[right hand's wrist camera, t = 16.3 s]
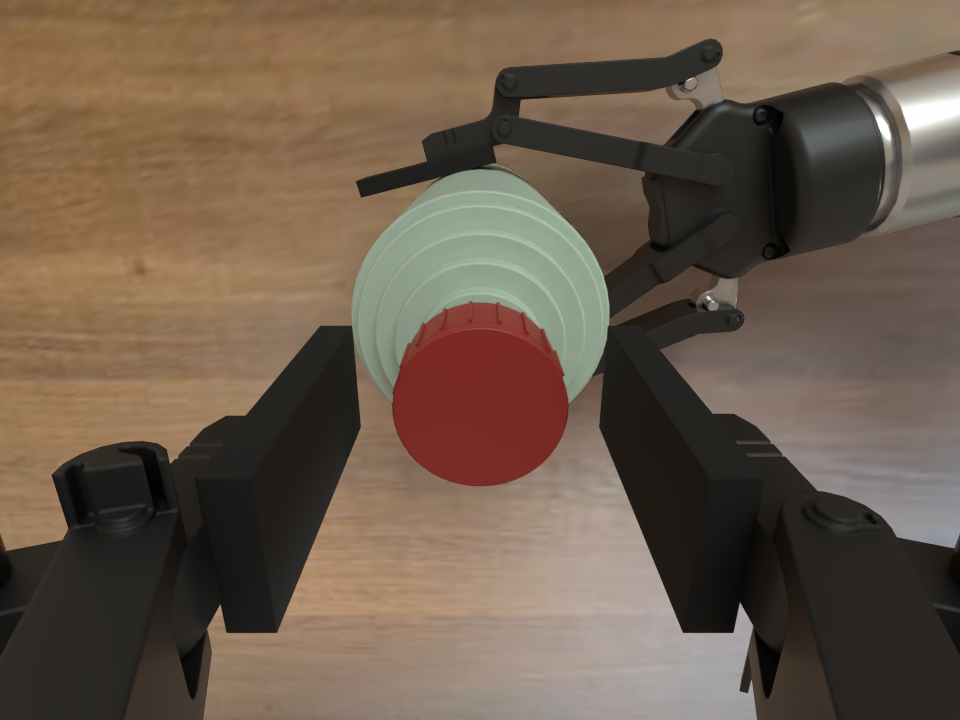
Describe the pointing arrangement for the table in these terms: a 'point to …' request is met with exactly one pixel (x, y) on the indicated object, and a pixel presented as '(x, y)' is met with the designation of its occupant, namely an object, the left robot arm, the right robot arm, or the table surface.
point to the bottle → (480, 272)
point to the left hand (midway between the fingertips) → (391, 274)
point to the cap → (480, 395)
